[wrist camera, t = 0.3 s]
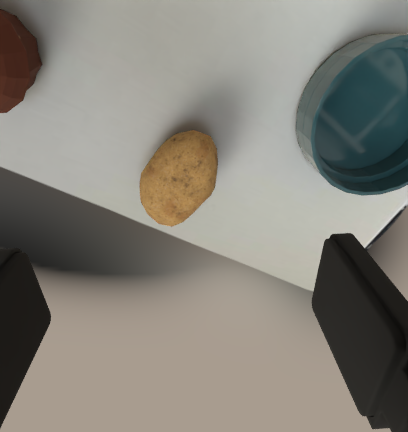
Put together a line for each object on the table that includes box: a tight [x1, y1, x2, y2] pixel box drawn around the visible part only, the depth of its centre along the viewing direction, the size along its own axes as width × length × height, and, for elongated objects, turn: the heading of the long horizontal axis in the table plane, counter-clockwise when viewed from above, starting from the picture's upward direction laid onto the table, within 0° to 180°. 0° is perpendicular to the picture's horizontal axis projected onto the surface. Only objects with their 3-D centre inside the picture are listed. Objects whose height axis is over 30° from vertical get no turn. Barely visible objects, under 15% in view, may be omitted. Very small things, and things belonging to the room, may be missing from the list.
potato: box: [140, 130, 218, 227], centre depth 43 cm, size 10×14×8 cm
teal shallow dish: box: [296, 33, 408, 195], centre depth 40 cm, size 19×19×6 cm
